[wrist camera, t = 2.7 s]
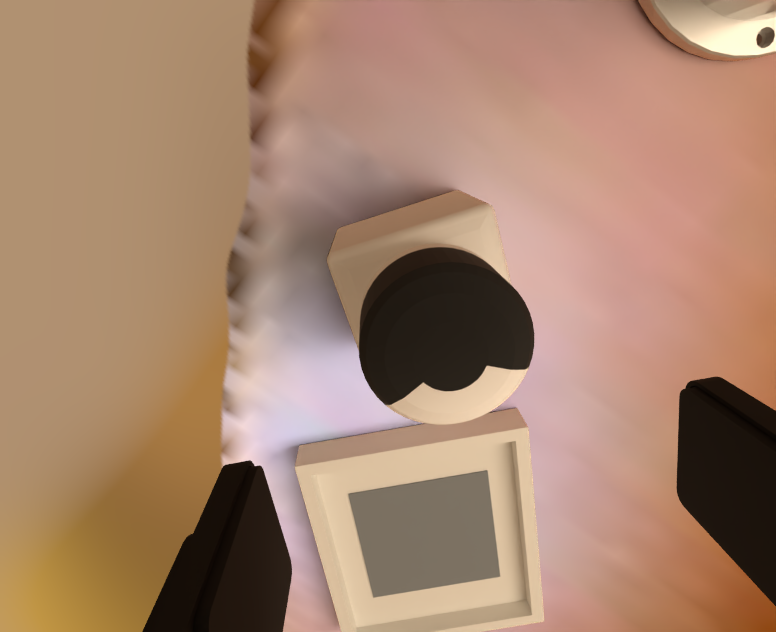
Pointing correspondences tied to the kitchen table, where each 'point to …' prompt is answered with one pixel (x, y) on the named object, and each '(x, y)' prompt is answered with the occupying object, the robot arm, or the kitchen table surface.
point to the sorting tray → (427, 526)
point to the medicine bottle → (433, 308)
